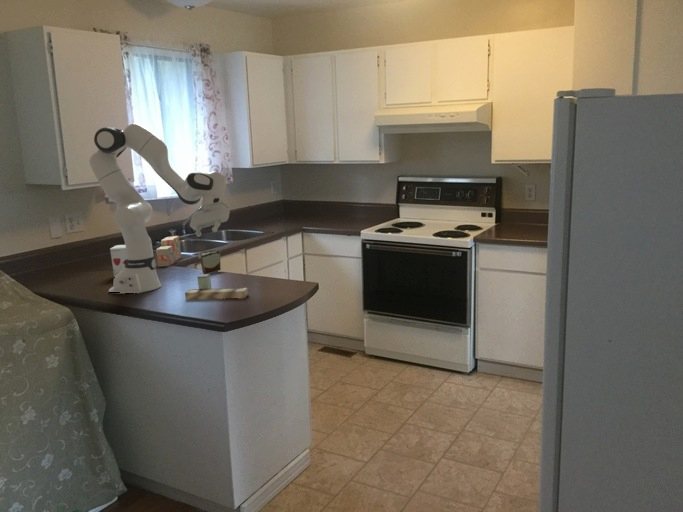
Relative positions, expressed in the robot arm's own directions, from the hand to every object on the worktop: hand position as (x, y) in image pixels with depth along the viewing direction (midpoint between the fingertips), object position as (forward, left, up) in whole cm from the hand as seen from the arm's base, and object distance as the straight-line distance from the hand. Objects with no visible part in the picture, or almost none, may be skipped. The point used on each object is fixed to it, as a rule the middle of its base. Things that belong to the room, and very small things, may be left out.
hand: (206, 233), depth 259 cm
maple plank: (+7, -15, -24) cm, 29 cm away
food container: (-13, +30, -24) cm, 41 cm away
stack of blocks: (-44, +56, -24) cm, 75 cm away
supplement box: (-55, +27, -24) cm, 66 cm away
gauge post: (0, -9, -24) cm, 26 cm away
